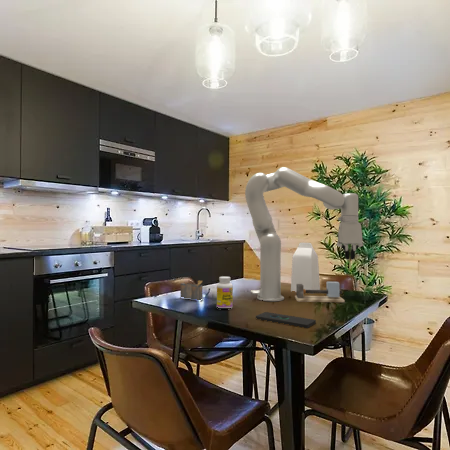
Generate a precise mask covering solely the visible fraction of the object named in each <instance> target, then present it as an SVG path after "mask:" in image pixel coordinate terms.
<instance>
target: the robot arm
mask: <svg viewBox="0 0 450 450" xmlns="http://www.w3.org/2000/svg"><path fill="white" fill-rule="evenodd" d="M282 188H286V189H289V190H290V191H293V192H295V193H297V194H298V195H300V196H303V197H307V198H313V199H316V200H318V201H320V202H322V203H323V206H324V207H325V208H326V209H327V210H339V209H340V212H341V213H340V216H339V217H338V218H337V220H338V221H340V222H339V226H338V232H337V242H336V246H337V247H340V248H342V249H343V251H344V258H345V260H347V261H348V260H355V258H356V251H357V250H358V248H361V247H363V246H364V242H363V230H362V224H361V222H359V195H358V194H357V193H353V192H349V193H343V194H342V192H340V191H339V190H336V189H335V188H333V187H331V186H329V185H326V184H324V183H322V182H318V181H316V180H313V179H311V178H309V177H308V176H307V177H306V176H305V175H304V174H300V173H299V172H297V171H295V170H294V169H293V170H292V169H290V168H289V167H286V166H281V167H279V168H278V169H276V171H275V172H272V173H268V174H266V173H264V172H257V173H254V175H252V176H251V177H250V179H248V181H247V183H246V186H245V190H244V191H245V192H244V196H245V201H246V204H247V205H246V206H247V207H248V211H249V214H250V216H251V220H252V225H253V229H254V230H255V233H256V237H257V240H258V241H259V245H260V247H259V249H260V250H259V251H260V254H259V255H260V261H259V263H260V264H259V265H260V267H259V268H260V273H259V275H260V277H259V278H260V279H259V281H260V288H259V289H256V290H255V289H251V290H250V295H257V296H256V299H257V300H260V301H262V300H263V301H264V302H281V301H284V300H285V297H284V296H283V295H282V294H281V293H282V291H281V290H282V289H281V276H282V275H281V273H282V271H281V268H282V267H281V265H282V264H281V263H282V261H281V257H282V256H281V254H282V253H281V252H282V241H281V238H280V235H278V234H277V231H276V229H275V226H274V224H273V218H272V215H271V213H270V211H269V209H268V206H267V203H266V200H265V196H264V193H267V192H269V191H270V192H271V191H275V190H277V189H282ZM349 245H351V250H349ZM263 301H262V302H263Z"/></svg>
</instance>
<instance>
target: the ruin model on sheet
mask: <svg viewBox="0 0 450 450" xmlns="http://www.w3.org/2000/svg"><path fill="white" fill-rule="evenodd" d="M181 297H184V298H191V299H197V300H201V299H202V300H203V280H197V284H196V283H189V282H188V283H185V282H181V283H180V298H181Z"/></svg>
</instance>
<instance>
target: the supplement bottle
mask: <svg viewBox="0 0 450 450" xmlns="http://www.w3.org/2000/svg"><path fill="white" fill-rule="evenodd" d="M218 281H219V283H217V284H216V308H217V307H218V308H231V309H233V303H234V302H233V300H234V298H233V296H234V295H233V294H234V293H233V289H234V286H233V284H232V283H231V277H230V276H219V278H218ZM218 308H217V309H218Z"/></svg>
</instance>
